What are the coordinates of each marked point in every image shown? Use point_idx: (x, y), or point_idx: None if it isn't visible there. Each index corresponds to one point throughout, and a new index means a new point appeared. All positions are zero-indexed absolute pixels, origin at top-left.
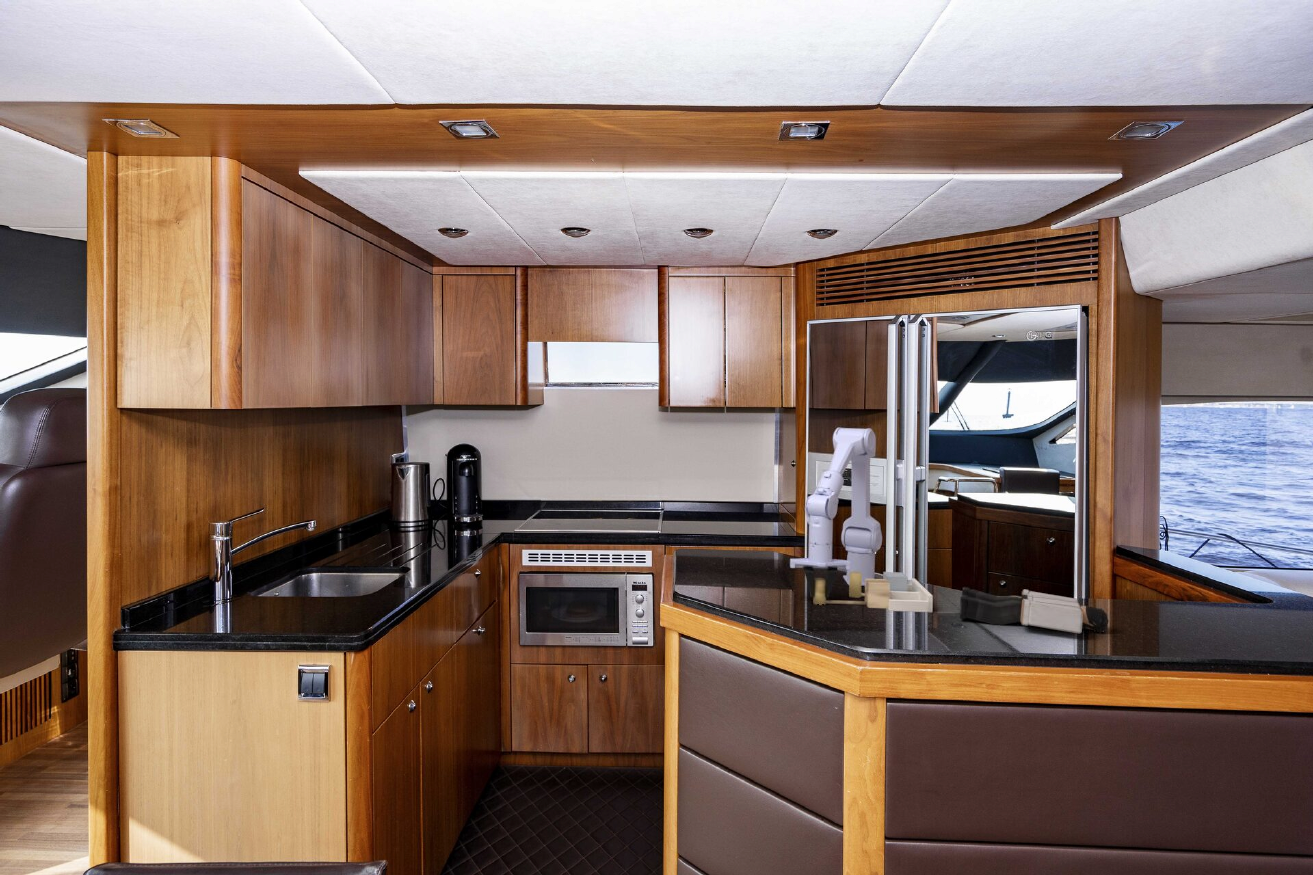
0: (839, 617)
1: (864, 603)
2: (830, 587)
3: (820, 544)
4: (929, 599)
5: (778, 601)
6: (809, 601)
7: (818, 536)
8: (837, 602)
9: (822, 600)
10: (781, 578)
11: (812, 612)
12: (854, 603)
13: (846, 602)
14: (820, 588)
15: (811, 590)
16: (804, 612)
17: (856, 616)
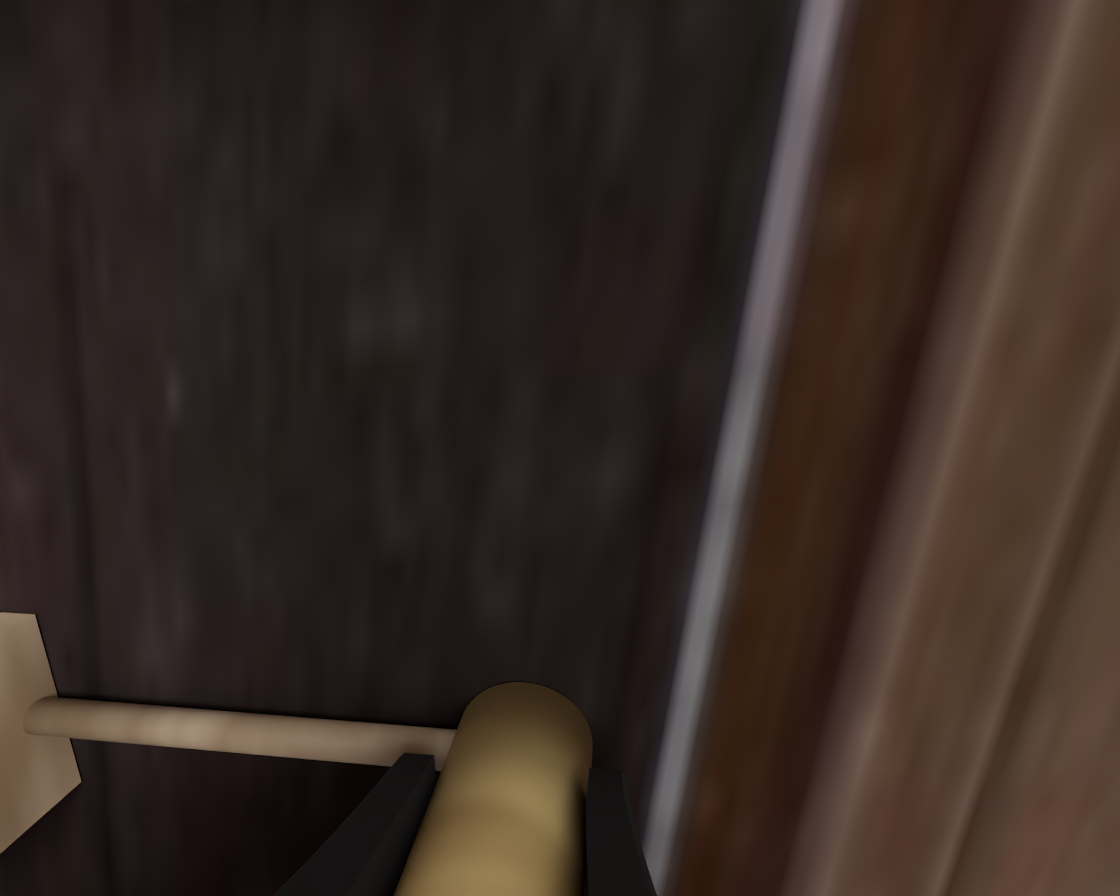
0: (333, 179)
1: (58, 700)
2: (300, 876)
3: None
4: None
5: (1006, 794)
6: None
7: None
8: (326, 724)
9: (486, 720)
10: None
11: (661, 371)
12: (158, 707)
13: (231, 720)
14: (475, 872)
15: (627, 851)
16: (772, 359)
17: (133, 259)
